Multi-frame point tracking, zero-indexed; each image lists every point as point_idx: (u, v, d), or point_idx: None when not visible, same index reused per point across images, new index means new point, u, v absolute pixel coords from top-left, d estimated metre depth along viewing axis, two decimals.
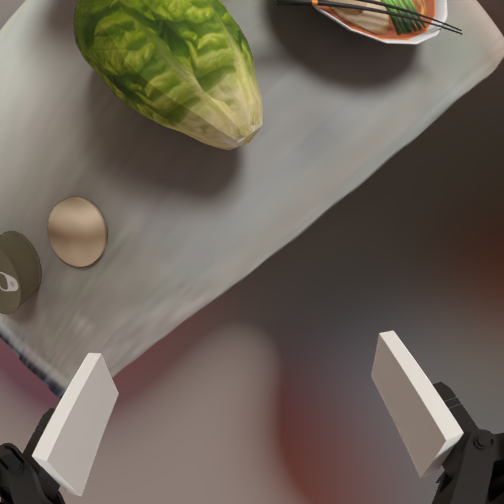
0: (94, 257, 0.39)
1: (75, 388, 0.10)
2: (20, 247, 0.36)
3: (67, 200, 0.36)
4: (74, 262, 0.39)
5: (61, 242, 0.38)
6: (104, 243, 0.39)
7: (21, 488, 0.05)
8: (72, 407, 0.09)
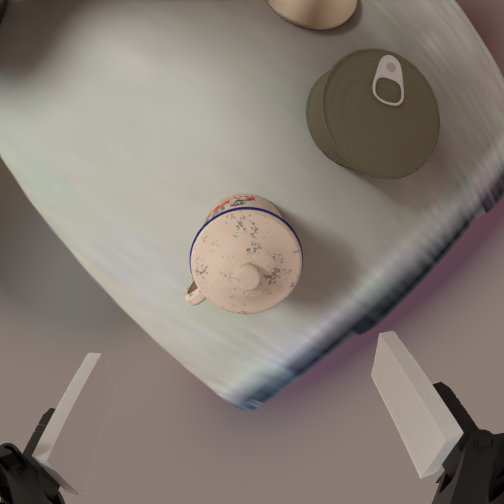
0: None
1: (75, 388, 0.10)
2: None
3: None
4: (351, 2, 0.23)
5: (324, 8, 0.23)
6: None
7: (21, 488, 0.05)
8: (72, 407, 0.09)
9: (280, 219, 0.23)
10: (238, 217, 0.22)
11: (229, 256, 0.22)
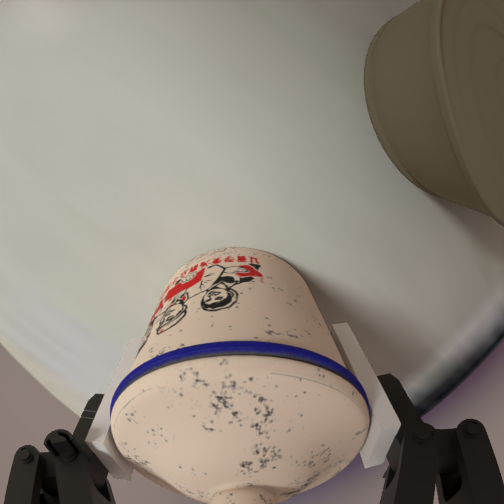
0: None
1: (123, 371, 0.11)
2: None
3: None
4: None
5: None
6: None
7: (69, 477, 0.06)
8: None
9: (335, 371, 0.08)
10: (216, 383, 0.07)
11: (195, 471, 0.07)
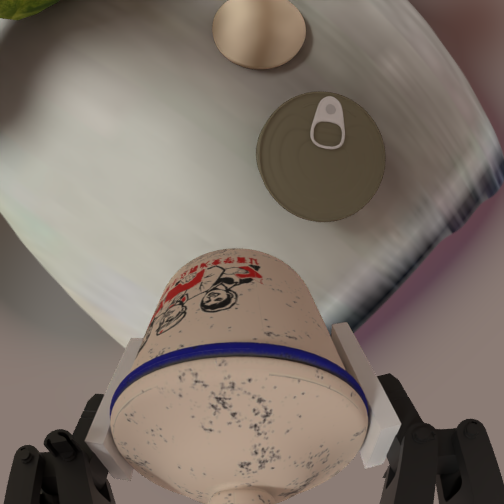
0: (291, 8, 0.25)
1: (123, 371, 0.11)
2: None
3: (214, 31, 0.26)
4: (300, 34, 0.26)
5: (271, 46, 0.27)
6: None
7: (69, 477, 0.06)
8: None
9: (333, 372, 0.08)
10: (215, 384, 0.07)
11: (194, 471, 0.07)
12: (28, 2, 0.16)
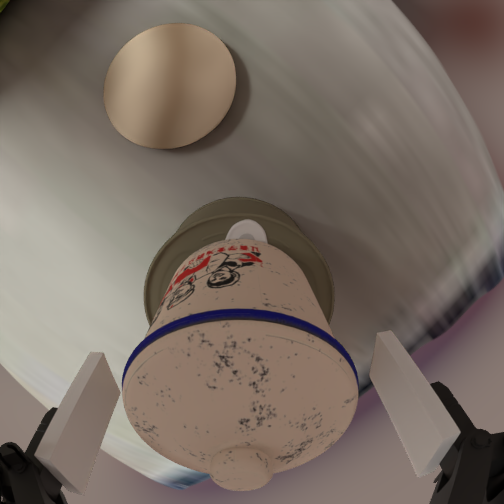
0: (216, 44, 0.18)
1: (77, 387, 0.10)
2: (183, 224, 0.21)
3: (105, 96, 0.19)
4: (226, 89, 0.19)
5: (181, 114, 0.20)
6: None
7: (23, 487, 0.05)
8: (74, 406, 0.09)
9: (323, 338, 0.09)
10: (219, 344, 0.08)
11: (198, 429, 0.08)
12: None
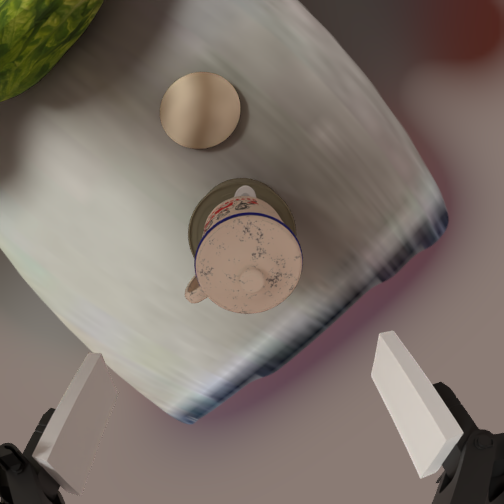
0: (229, 87, 0.33)
1: (75, 388, 0.10)
2: None
3: (161, 115, 0.34)
4: (235, 115, 0.34)
5: (209, 128, 0.35)
6: (213, 74, 0.33)
7: (21, 488, 0.05)
8: (72, 407, 0.09)
9: (284, 226, 0.24)
10: (245, 222, 0.23)
11: (235, 259, 0.23)
12: (13, 92, 0.25)
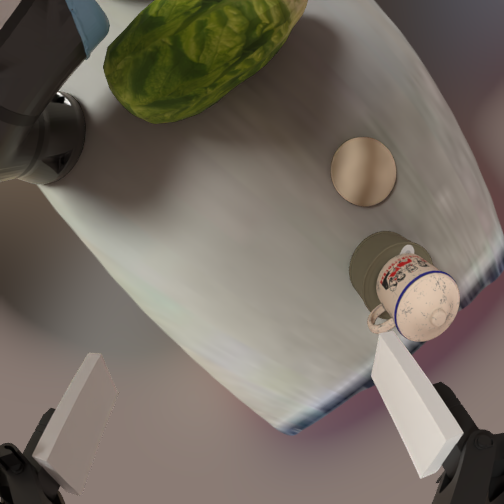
0: (389, 155, 0.39)
1: (75, 388, 0.10)
2: (370, 245, 0.42)
3: (334, 172, 0.40)
4: (391, 180, 0.40)
5: (372, 190, 0.41)
6: None
7: (21, 488, 0.05)
8: (72, 407, 0.09)
9: (454, 281, 0.30)
10: (437, 278, 0.29)
11: (430, 303, 0.29)
12: (181, 117, 0.32)
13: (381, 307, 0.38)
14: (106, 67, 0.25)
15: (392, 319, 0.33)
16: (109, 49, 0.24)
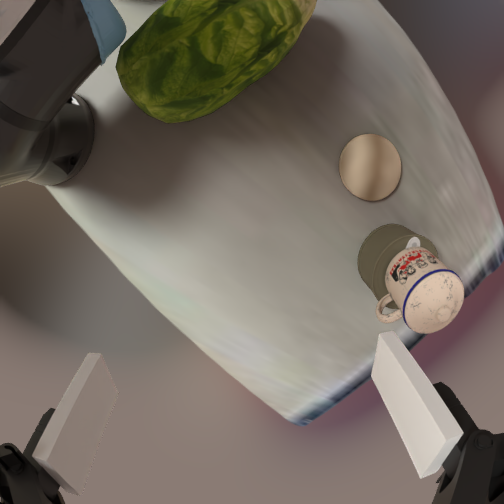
0: (394, 151, 0.40)
1: (75, 388, 0.10)
2: (377, 238, 0.43)
3: (342, 168, 0.41)
4: (397, 175, 0.41)
5: (378, 184, 0.42)
6: None
7: (21, 488, 0.05)
8: (72, 407, 0.09)
9: (460, 280, 0.31)
10: (446, 276, 0.30)
11: (437, 300, 0.30)
12: (195, 117, 0.32)
13: (389, 296, 0.39)
14: (120, 67, 0.25)
15: (400, 310, 0.35)
16: (122, 49, 0.25)
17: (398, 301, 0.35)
